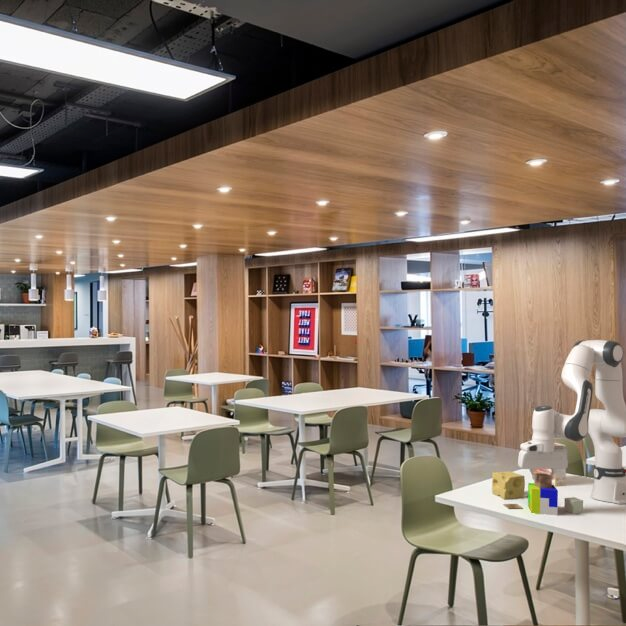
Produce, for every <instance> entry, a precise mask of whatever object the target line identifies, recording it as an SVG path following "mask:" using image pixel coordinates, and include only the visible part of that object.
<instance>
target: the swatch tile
mask: <svg viewBox="0 0 626 626" xmlns="http://www.w3.org/2000/svg"><path fill="white" fill-rule="evenodd" d="M502 506H504V507H505V508H507V509H508V510H524V507H523V506H521V505H520V504H518V503H503V505H502Z"/></svg>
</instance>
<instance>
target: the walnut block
mask: <svg viewBox="0 0 626 626" xmlns="http://www.w3.org/2000/svg"><path fill="white" fill-rule="evenodd" d="M535 475H537V476H538V477H537V478H538V479H537V480H533V481H534V485H535V486H537V487H538V488H552V476H550V475H548V474H546V473H535Z"/></svg>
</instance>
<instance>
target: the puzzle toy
mask: <svg viewBox="0 0 626 626" xmlns="http://www.w3.org/2000/svg"><path fill="white" fill-rule="evenodd" d="M527 484H528V487H527V488H528V490H527V495H528V496H527V502H528V503H527V508H528V507H529V508H528V509H530V510H529V512H530V511H531V512H530V513H535V514H534V515H544V514H546V516H558V513H559V512H558V507H559V506H558V505H559V503H558V501H559V500H558V499H559V497H558V496H559V490H558V489H557V487H556V486H554V485H552V488H538V487H537V486H535V485H534V483H532V482H528V483H527Z"/></svg>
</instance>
